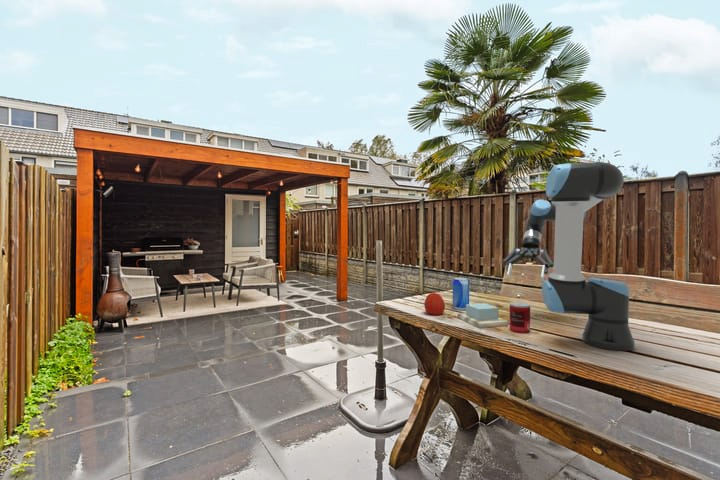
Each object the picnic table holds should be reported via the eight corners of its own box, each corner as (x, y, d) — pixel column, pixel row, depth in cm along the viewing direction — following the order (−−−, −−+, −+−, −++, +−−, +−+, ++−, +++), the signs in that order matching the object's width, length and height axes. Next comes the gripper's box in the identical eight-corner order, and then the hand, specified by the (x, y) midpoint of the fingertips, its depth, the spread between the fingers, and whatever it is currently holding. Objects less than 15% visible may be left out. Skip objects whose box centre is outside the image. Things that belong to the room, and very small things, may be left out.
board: (508, 325, 145) (508, 321, 145) (479, 328, 142) (479, 323, 142) (483, 315, 162) (483, 311, 162) (457, 317, 159) (457, 313, 159)
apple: (421, 311, 172) (421, 291, 172) (441, 311, 173) (441, 290, 172) (426, 316, 162) (426, 294, 162) (447, 316, 162) (447, 294, 162)
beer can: (449, 307, 180) (449, 277, 180) (462, 306, 183) (463, 277, 182) (458, 311, 172) (458, 280, 172) (472, 309, 175) (472, 279, 174)
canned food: (525, 327, 142) (525, 302, 142) (533, 333, 134) (533, 306, 134) (506, 327, 143) (506, 301, 142) (513, 333, 135) (513, 305, 134)
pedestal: (498, 319, 148) (498, 307, 148) (478, 320, 146) (478, 309, 146) (485, 313, 158) (485, 303, 158) (465, 315, 156) (465, 304, 156)
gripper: (562, 248, 153) (558, 285, 142) (504, 246, 168) (496, 280, 157) (561, 236, 149) (557, 274, 137) (502, 236, 164) (493, 270, 152)
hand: (524, 277), depth 147 cm, fingers open, 13 cm apart
